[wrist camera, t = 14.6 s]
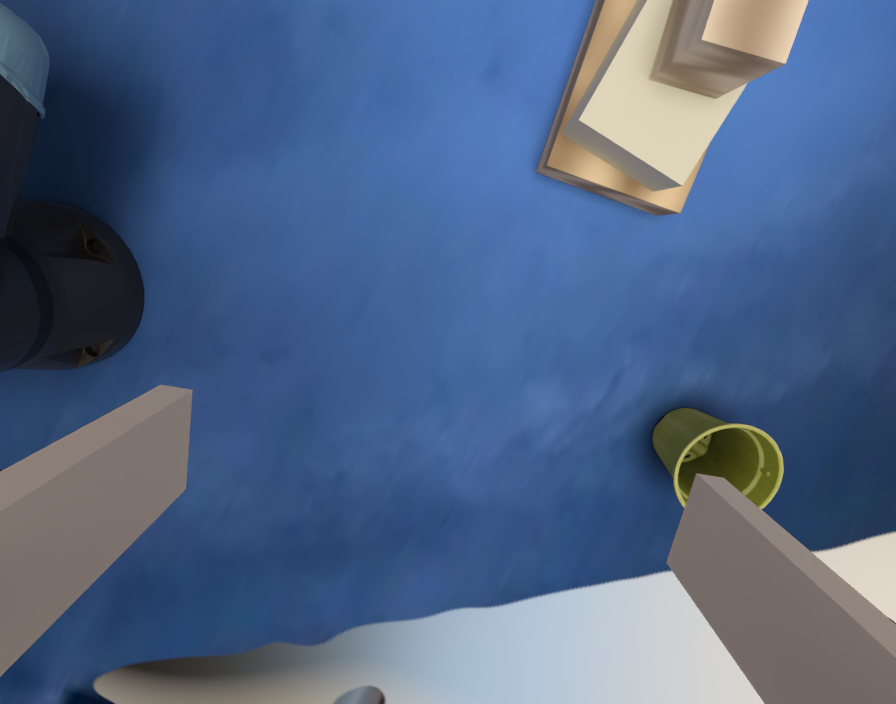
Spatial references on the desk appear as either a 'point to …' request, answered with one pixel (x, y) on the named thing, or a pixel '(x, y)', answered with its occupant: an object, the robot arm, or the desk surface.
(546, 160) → the bottom block
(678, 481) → the plant pot
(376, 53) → the desk surface
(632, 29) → the middle block
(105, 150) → the desk surface
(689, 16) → the ash block
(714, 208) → the desk surface
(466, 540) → the desk surface
